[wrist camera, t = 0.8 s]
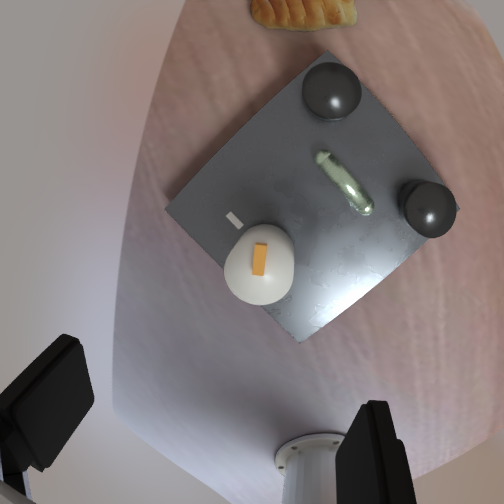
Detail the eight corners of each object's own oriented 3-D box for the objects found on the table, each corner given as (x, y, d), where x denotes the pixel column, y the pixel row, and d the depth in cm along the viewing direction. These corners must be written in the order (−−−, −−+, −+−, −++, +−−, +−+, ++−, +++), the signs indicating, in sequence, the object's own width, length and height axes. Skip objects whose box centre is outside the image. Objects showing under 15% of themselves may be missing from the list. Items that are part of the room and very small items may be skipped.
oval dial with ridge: (290, 283, 28) (288, 313, 23) (234, 275, 29) (220, 303, 23) (298, 228, 27) (298, 247, 21) (239, 220, 27) (224, 237, 22)
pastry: (263, 47, 25) (258, 33, 21) (243, -7, 23) (236, -25, 19) (360, 28, 23) (368, 13, 19) (336, -25, 21) (339, -44, 17)
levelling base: (450, 205, 26) (475, 215, 21) (299, 332, 32) (299, 361, 27) (325, 56, 24) (330, 38, 19) (172, 205, 30) (150, 215, 25)
